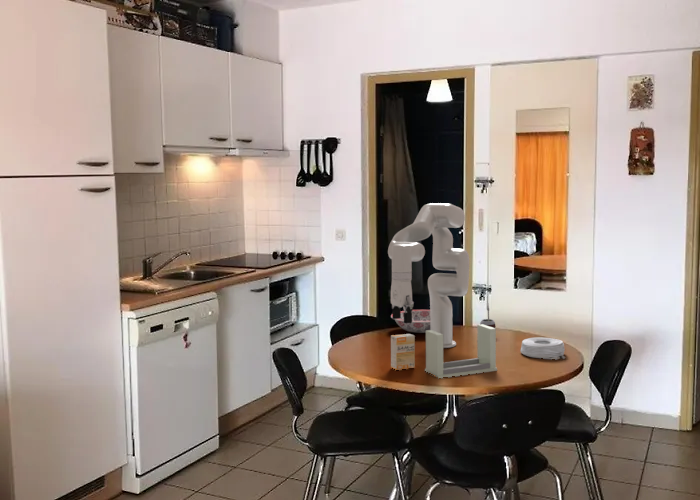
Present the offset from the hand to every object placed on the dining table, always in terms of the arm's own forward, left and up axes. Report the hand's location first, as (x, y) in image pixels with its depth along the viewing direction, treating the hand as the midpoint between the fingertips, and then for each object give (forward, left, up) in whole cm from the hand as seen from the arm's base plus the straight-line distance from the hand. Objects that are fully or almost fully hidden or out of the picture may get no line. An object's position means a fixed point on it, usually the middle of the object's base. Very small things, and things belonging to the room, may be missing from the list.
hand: (402, 320), depth 278 cm
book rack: (+13, +18, -19) cm, 29 cm away
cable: (+5, +61, -19) cm, 64 cm away
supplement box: (0, 0, -19) cm, 19 cm away
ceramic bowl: (-55, +37, -19) cm, 69 cm away
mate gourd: (-31, +58, -19) cm, 69 cm away
